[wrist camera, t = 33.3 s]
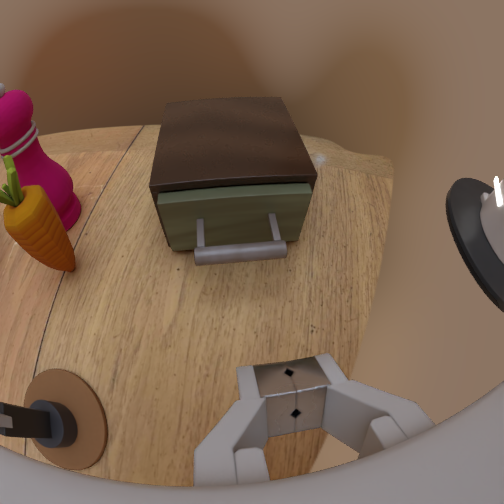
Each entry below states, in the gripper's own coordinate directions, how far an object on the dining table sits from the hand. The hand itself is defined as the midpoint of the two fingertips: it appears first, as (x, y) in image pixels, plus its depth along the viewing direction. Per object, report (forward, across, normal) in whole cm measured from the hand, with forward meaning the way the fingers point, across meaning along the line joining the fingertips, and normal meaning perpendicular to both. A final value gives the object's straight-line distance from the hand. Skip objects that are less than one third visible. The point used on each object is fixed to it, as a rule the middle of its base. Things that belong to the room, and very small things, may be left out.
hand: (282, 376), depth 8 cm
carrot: (+20, +18, +1) cm, 27 cm away
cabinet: (+26, 0, -6) cm, 27 cm away
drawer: (+23, 0, -4) cm, 23 cm away
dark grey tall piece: (+8, +18, +12) cm, 23 cm away
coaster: (+8, +18, +12) cm, 23 cm away
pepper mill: (+25, +22, -5) cm, 34 cm away
